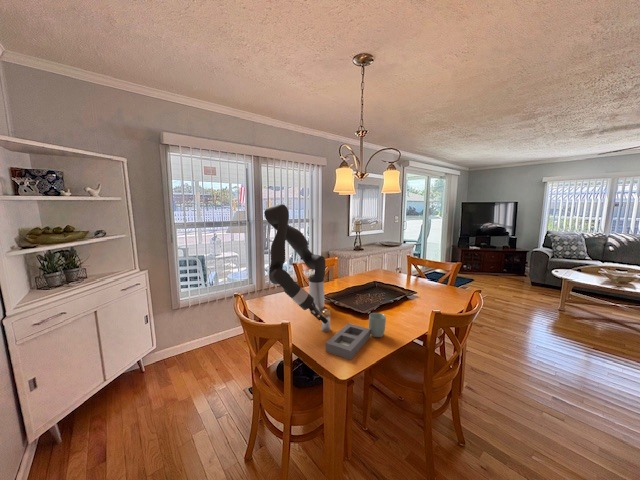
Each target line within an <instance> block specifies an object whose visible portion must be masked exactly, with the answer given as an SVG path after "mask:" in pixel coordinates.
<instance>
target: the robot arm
mask: <svg viewBox="0 0 640 480" xmlns="http://www.w3.org/2000/svg"><path fill="white" fill-rule="evenodd" d="M263 213H264V218H265V220H266V222H268V224H269V225H270V226H271V227H272V228H273V229H275V231H276V233H275V236H274V238H273V240H272V241H271V242H272V243H271V246H270V264H269V272H268V273H269V274H268V277H269V281H270V283H272V284H273V285H279V286H280V287H281V288H282V289H283V292H284V293H285V294H286V295H287V296H288V297H289V298H291V300H292V301H293V302H295V304H297V306H298V307H300V308H301V309H302V310H303V311H306V310H309V312H310V314H311V315H312V316H313V317H314V318H316V319H317V320H318V321H320V322H321V323H322V322H323V323H324V324H326V323H327V322H328V320H327V319H326V318H325V317H324V316H323V315H322V310H324V309H325V283H324V282H325V277H326V265H327V264H326V262H327V261H326V259H325V256H323V255H319V254H315V253H312V251H311V250H310V249H309V243H308V240H307V238H306V237H305V235H304V234H303V232H301V231H300V230H299V229H297V228H295V227H293V226H291V225H289V220H290V219H289V218H290V214H289V213H290V212H289V209H288V207H287V205H285V204H283V203H279V204H276V205H275V204H274V205H272V206H269V207H267V208H265V210H264V212H263ZM286 242H287V243H288V245H289V246H291V248H292V249H293V250H294V251H295V252H296V254H297V255H298V256H299V257H300V258H301V260H302V261H303V263H304V264H305V266H306V267H307V268H308V269H311V270H314V274H310V275H308V291H306V289H304V288H303V287H301V286H300V285H299V284H298V283H297V282H296V281H294V279H293V278H292V276H291V274H289V273H288V272H287V270H285V269H284V264H285V262H286Z"/></svg>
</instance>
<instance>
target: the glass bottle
mask: <svg viewBox="0 0 640 480" xmlns="http://www.w3.org/2000/svg"><path fill="white" fill-rule="evenodd" d="M321 310H322V315H323V316H324V317H325V318H326V319H327V320H328V322H327V323H326V324H324V323H323V322H322V321H321V331H322V332H323V333H328V332H330V331H331V310H330V309H327V308H324V309H321Z"/></svg>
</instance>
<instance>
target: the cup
mask: <svg viewBox="0 0 640 480" xmlns="http://www.w3.org/2000/svg"><path fill="white" fill-rule="evenodd" d="M386 323H387V317H386V315H385V314H384V313H380V312H371V313H369V317H368V329H370V332H371V333H370V336H372V337H374V338H381V337H383V336H384V335H385V331H386Z"/></svg>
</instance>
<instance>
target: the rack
mask: <svg viewBox="0 0 640 480" xmlns="http://www.w3.org/2000/svg"><path fill="white" fill-rule="evenodd" d="M370 333H371V332H370V329H369V328H366V327H363V326H360V325H356V324H352V323H347V324H346V325H344V326H343V327H342V328H341V329H340V330H339V331H338V332H336V333H335V334H334V335H333V336H332V337H331V338H329V339H328V340H327V341H326V342H325V353H329V354H331V355H335V356H338V357H341V358H344V359H347V360H351V361H352V359H353V358H355V356H356V355H357V354H358V352H359V351H360V350H361V349H362V348H363V346H364V345H365V344H367V342H368V340H370V338H371V334H370Z"/></svg>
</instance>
